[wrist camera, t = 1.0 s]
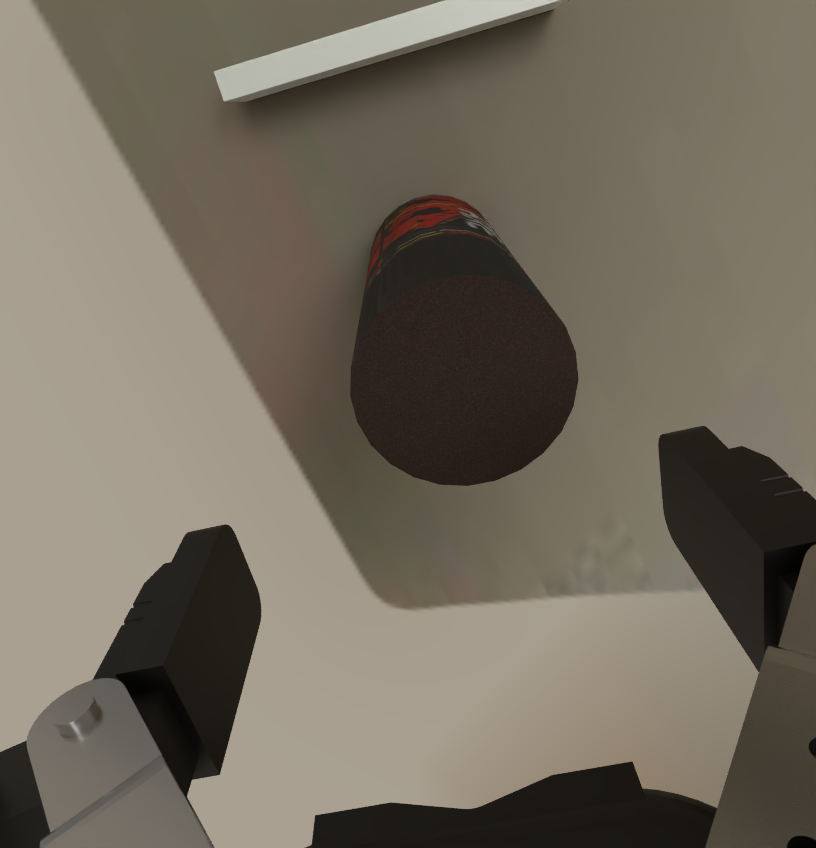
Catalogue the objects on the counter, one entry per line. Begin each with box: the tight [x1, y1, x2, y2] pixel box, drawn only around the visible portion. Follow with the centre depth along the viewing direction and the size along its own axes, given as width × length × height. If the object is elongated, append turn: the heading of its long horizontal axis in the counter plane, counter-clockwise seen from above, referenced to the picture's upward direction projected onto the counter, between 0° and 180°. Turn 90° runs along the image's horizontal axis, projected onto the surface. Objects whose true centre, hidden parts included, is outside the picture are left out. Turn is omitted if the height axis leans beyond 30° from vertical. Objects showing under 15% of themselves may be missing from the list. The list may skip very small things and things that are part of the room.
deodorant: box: [350, 195, 578, 486], centre depth 24 cm, size 6×6×15 cm
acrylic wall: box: [214, 0, 569, 102], centre depth 25 cm, size 1×13×4 cm, turn 104°
